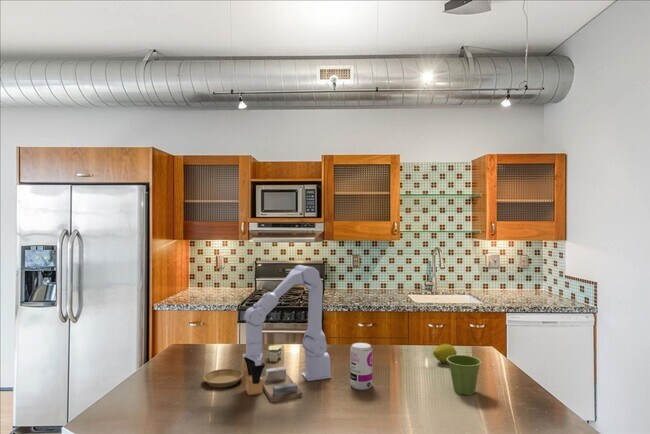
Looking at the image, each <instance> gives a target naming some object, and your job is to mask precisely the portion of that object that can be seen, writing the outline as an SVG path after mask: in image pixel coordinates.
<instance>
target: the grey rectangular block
mask: <svg viewBox="0 0 650 434" xmlns="http://www.w3.org/2000/svg"><path fill="white" fill-rule="evenodd" d="M286 374H287V369H286V368H285V366H279V367H271V368H266V369H265V376H266V380H267V382H272V381H279V380H286Z"/></svg>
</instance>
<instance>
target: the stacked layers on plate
mask: <svg viewBox="0 0 650 434" xmlns="http://www.w3.org/2000/svg"><path fill="white" fill-rule="evenodd" d="M282 347H283V345H281V344H277V345H276V344H274V345H269V346H268V358H269V362H278V360H279V358H280V357H281V356H282V355H283V352H282V351H283V348H282Z"/></svg>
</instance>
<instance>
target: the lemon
mask: <svg viewBox="0 0 650 434" xmlns="http://www.w3.org/2000/svg"><path fill="white" fill-rule="evenodd" d="M432 354H433V356H434V358H435V359H436V360H437V361H438V362H440V363H443V364H449V363H448V361H447V357H449V356H452V355H457V350H456V349H455V347H454V346H453V345H451V344H449V343H442V344H440V345H438V346H436V348H435V349H434V350H433V352H432Z"/></svg>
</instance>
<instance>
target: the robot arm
mask: <svg viewBox="0 0 650 434" xmlns="http://www.w3.org/2000/svg"><path fill="white" fill-rule="evenodd" d="M295 285H304V286H305V287H306V288H308V302H307V303H308V304H307V305H308V308H307V309H308V311H307V329H306V330H305V331H304V336H303V339H302V341H301V345H302V348H303V349H304V353H305V354H304V355H305V356H304V357H305V359H304V360H305V361H304V363H305V368H304V369H305V371H304V372H301V374H302V376H303V377H304V378H305V379H306V380H307V381H308V382H310V381H319V380H325V379H331V378H332V376H331V358H330V355H329V353H328V352H327V349H328V343H327V341H326V335H325V333H324V331H323V329H322V328H323V327H322V324H323V319H322V318H323V289H324V288H323V286H324V285H323V282H322V279H321V276H320V271H319V270H317V268H316V267H313V266H307V265H303V264H297V265H295V266H294V267H293V269H291V270H290V271H289V273H288V274H287V275H286V277H284V279H283V280H282V281H281V282H280V283H279V284H278V285H277V286H276V288H275V289H273V291H268V292H266V293H265V292H264V293H263V294H262V295H261V296H262V297H261V298H260V299H259V300H258V301H257V302H256V303H254V304H252V305H253V306H251V307H248V308H247V309H246V310H245V312H244V314H243V319H244V321H245V323H246V324H245V325H246V326H245V328H246V329H245V342H246V343H245V353H243V354H242V358H243V359H244V361H245V365H246V369H247V374H248V375H247V376H249V375H252V382H253V384H258V383H259V382H260V378H261V376H262V374H263V370H264V368H265V366H266V363H265V362H262V358H263V354H264V353H263V323H264V322H265V321H266V317H267V315H268V314H269V313H271V311H273V309H274V308H275V307H276V306H278V304H279V299H280V298H281V297H283V295H285V294H287V293H286V292H288V291H289V290H290V289H291V288H293V287H294V286H295Z"/></svg>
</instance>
